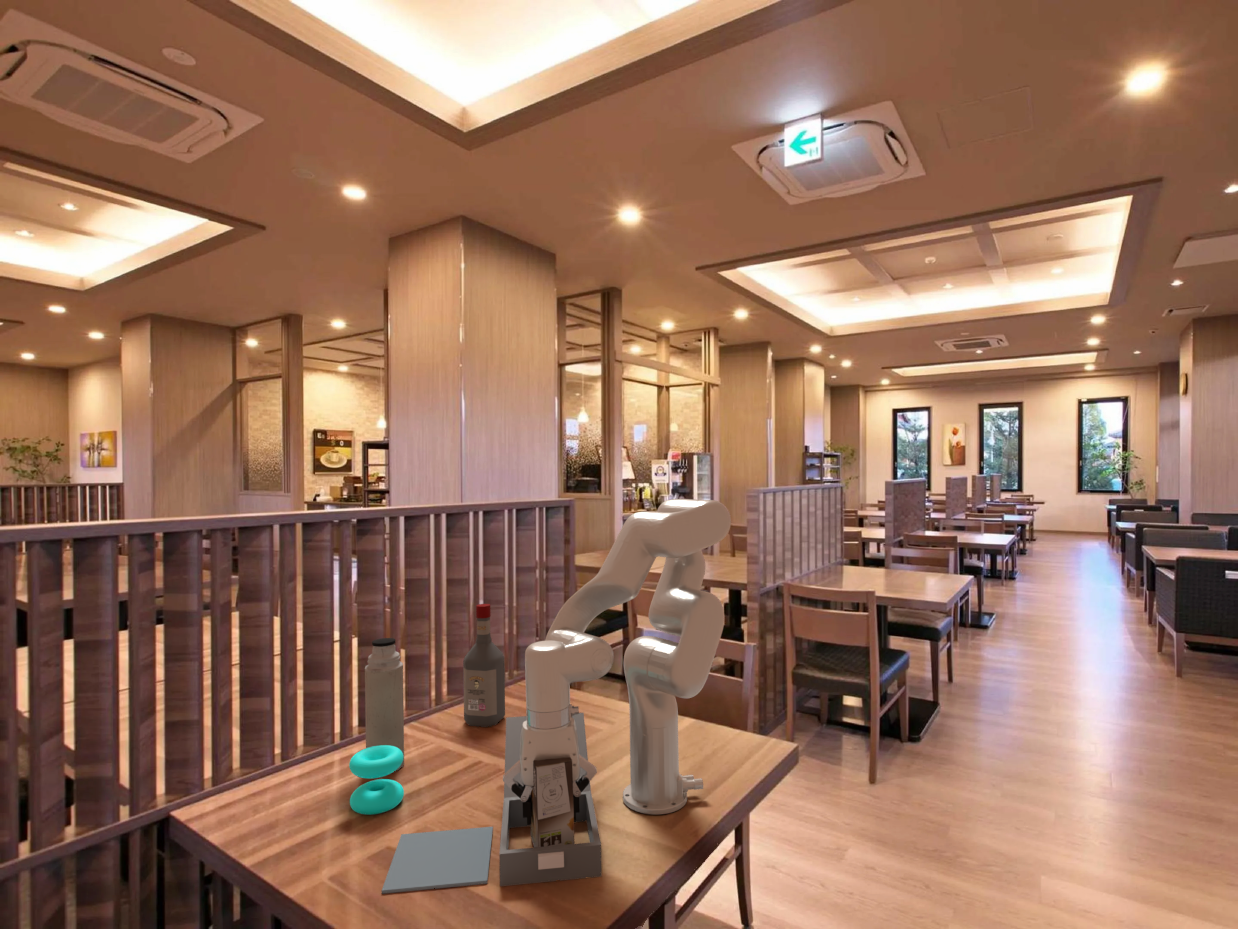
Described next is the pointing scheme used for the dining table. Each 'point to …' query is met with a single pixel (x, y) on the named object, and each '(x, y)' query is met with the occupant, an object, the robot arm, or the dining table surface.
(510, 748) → the case lid
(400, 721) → the thermos bottle
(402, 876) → the slate mat
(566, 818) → the coffee box
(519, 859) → the case
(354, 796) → the donuts
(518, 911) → the dining table surface
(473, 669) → the liquor
